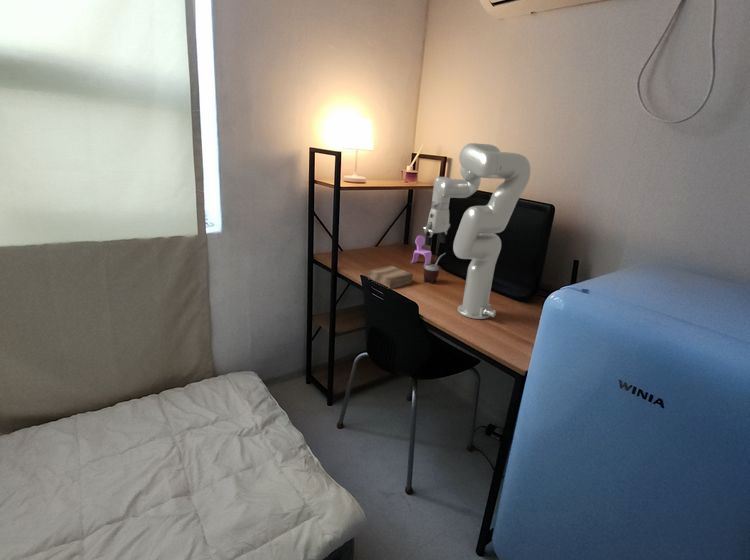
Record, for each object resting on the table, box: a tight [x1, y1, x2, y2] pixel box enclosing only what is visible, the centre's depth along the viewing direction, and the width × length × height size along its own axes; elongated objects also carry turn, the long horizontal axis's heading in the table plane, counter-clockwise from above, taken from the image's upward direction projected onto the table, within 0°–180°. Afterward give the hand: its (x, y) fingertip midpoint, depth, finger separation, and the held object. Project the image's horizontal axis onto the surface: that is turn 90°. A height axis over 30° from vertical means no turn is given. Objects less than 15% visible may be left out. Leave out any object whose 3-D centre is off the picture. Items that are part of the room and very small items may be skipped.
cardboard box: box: [368, 265, 413, 289], centre depth 186 cm, size 14×14×5 cm
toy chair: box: [410, 234, 432, 268], centre depth 215 cm, size 8×9×15 cm
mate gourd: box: [423, 252, 447, 285], centre depth 188 cm, size 8×8×15 cm
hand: (435, 243), depth 185 cm, fingers open, 9 cm apart
